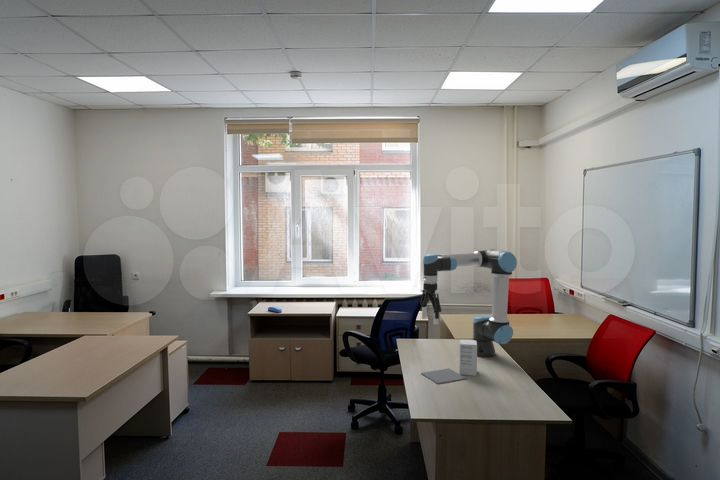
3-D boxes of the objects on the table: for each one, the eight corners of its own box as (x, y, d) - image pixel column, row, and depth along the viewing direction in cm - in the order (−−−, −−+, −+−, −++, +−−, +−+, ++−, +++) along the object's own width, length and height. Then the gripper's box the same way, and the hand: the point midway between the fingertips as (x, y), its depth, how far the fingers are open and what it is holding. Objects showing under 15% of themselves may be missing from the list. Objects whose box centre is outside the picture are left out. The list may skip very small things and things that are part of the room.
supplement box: (476, 376, 251) (477, 345, 249) (459, 374, 252) (459, 344, 251) (475, 370, 260) (476, 340, 259) (458, 368, 262) (459, 339, 261)
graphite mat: (448, 369, 261) (448, 368, 261) (466, 379, 246) (466, 377, 246) (421, 373, 253) (421, 372, 253) (437, 384, 239) (437, 383, 239)
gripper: (414, 279, 265) (413, 316, 266) (435, 287, 241) (434, 327, 243) (425, 279, 267) (425, 315, 269) (448, 286, 244) (447, 326, 245)
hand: (430, 321), depth 256 cm, fingers open, 13 cm apart
